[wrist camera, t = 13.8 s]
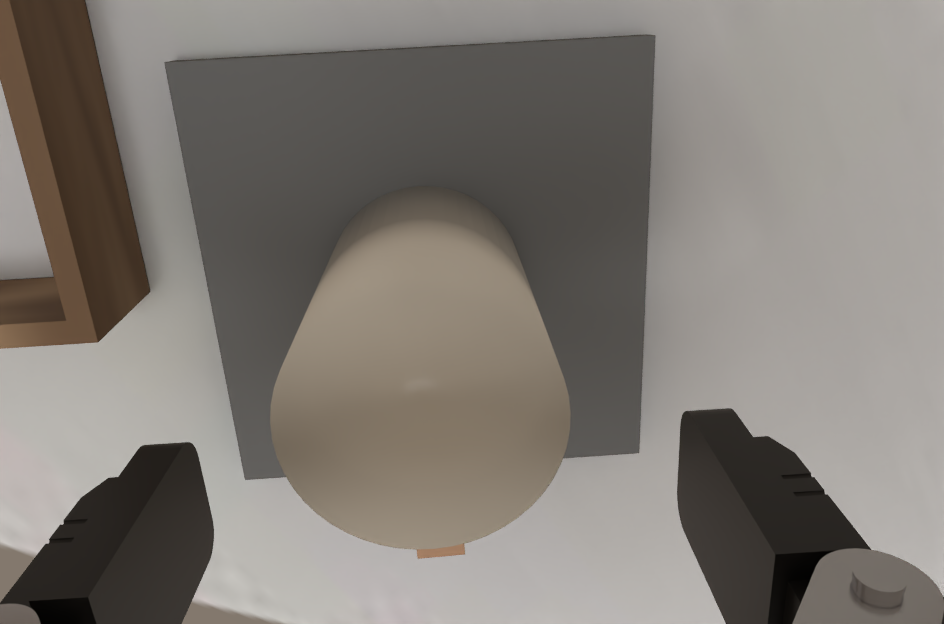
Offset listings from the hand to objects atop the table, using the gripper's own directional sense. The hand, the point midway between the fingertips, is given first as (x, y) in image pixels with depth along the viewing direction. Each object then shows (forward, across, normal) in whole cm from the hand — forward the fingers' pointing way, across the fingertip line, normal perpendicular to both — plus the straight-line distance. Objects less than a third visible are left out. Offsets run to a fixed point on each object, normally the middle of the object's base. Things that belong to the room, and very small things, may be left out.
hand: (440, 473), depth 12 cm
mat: (+10, 0, 0) cm, 10 cm away
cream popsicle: (+9, 0, 0) cm, 9 cm away
